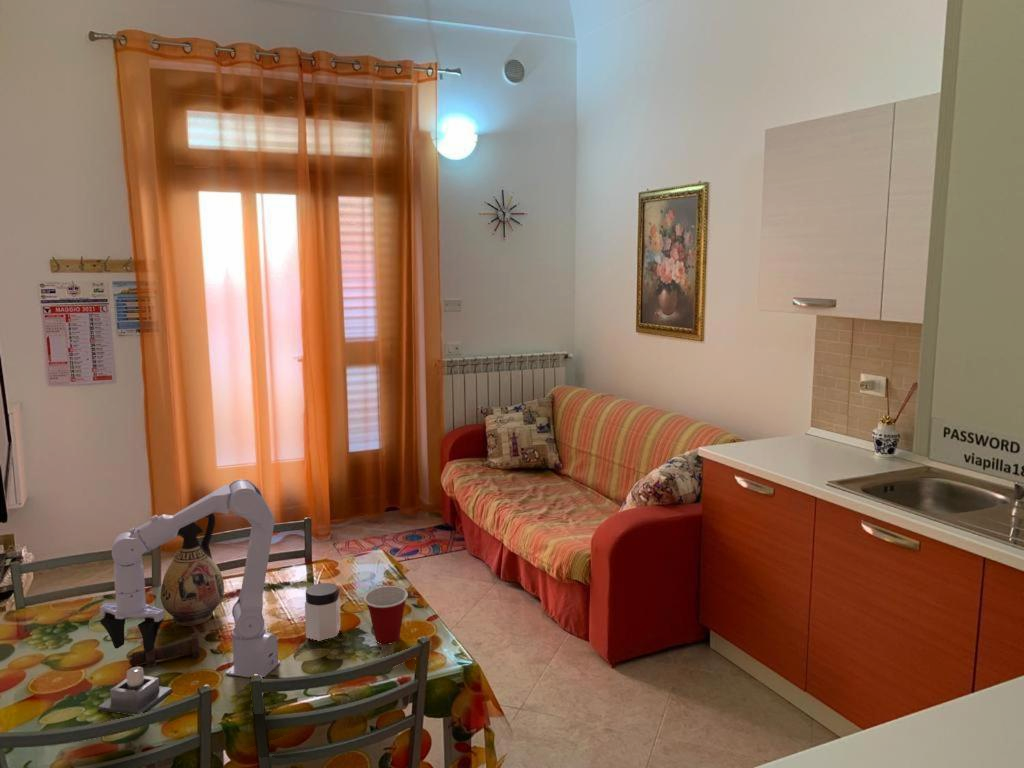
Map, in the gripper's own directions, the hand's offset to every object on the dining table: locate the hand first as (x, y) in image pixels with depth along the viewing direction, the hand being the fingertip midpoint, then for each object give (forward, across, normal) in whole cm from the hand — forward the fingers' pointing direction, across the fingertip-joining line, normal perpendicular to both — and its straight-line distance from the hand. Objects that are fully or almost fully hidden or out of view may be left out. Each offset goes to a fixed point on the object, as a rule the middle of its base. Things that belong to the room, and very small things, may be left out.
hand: (134, 648), depth 164 cm
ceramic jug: (+10, -10, +35) cm, 38 cm away
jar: (+10, +27, +34) cm, 45 cm away
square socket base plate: (+10, +2, -3) cm, 11 cm away
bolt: (+10, -3, +13) cm, 17 cm away
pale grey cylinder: (+9, +2, -3) cm, 10 cm away
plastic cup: (+10, +44, +35) cm, 57 cm away
